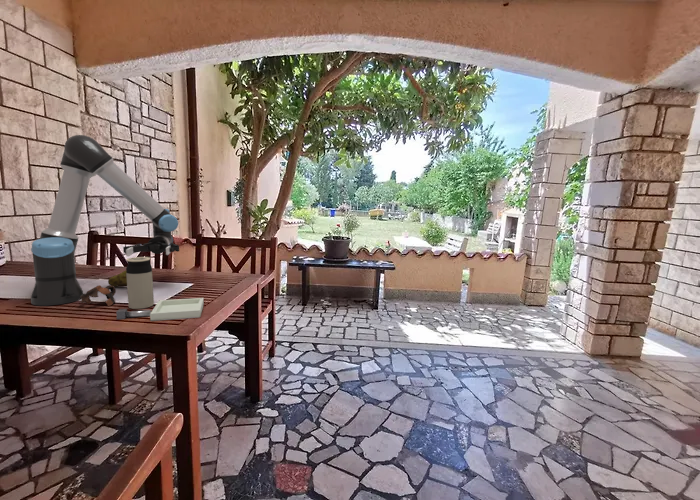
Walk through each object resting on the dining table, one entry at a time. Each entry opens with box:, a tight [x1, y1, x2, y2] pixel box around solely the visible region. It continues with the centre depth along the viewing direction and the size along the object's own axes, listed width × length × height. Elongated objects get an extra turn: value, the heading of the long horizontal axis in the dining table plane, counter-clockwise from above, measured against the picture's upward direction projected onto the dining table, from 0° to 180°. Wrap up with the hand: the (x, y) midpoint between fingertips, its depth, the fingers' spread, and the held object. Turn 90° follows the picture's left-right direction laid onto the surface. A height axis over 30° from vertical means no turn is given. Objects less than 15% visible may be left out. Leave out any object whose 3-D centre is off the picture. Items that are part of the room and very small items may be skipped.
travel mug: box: [125, 256, 155, 310], centre depth 122 cm, size 8×8×18 cm
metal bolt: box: [116, 308, 152, 320], centre depth 112 cm, size 9×3×3 cm, turn 109°
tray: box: [149, 297, 205, 322], centre depth 118 cm, size 15×15×2 cm
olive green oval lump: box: [107, 270, 127, 288], centre depth 147 cm, size 8×13×8 cm, turn 74°
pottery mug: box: [80, 284, 117, 307], centre depth 124 cm, size 12×10×8 cm
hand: (147, 252), depth 130 cm, fingers open, 13 cm apart
